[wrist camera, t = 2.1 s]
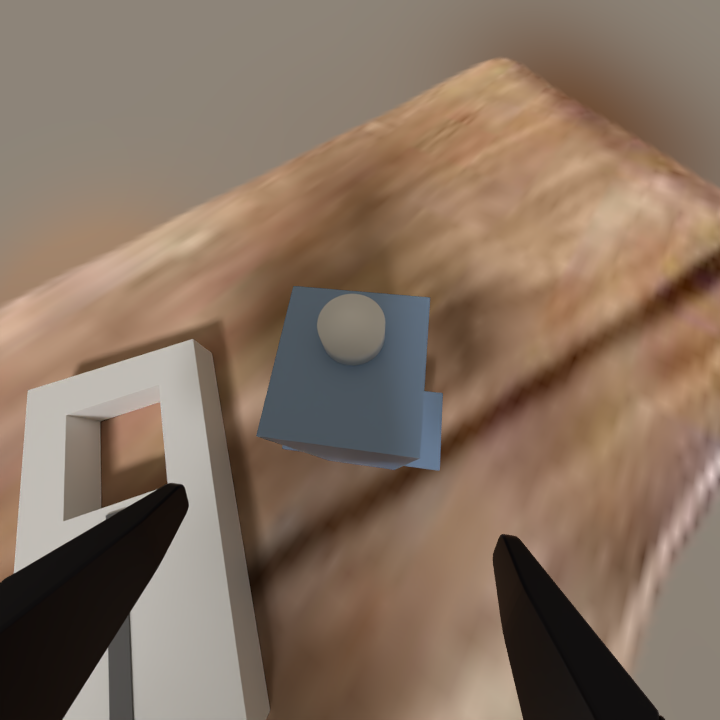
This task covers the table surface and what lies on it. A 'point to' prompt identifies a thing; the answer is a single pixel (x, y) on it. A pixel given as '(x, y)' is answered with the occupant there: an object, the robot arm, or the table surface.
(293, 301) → the servo
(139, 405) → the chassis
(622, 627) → the table surface
